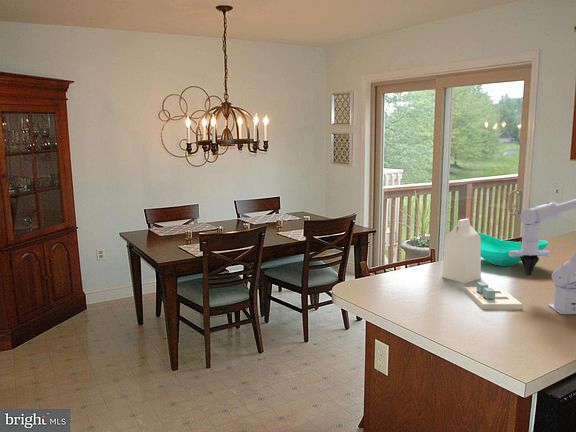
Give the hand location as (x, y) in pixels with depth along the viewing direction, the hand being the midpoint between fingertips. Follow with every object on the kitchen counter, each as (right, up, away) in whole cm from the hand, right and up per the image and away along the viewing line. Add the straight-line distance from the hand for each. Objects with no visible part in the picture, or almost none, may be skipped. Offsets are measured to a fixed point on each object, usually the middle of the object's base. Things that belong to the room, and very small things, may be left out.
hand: (528, 274), depth 186 cm
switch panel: (-14, -10, 0) cm, 17 cm away
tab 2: (-16, -8, -4) cm, 19 cm away
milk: (-15, -5, +30) cm, 34 cm away
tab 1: (-16, -7, +3) cm, 18 cm away
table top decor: (+12, -1, +51) cm, 52 cm away
